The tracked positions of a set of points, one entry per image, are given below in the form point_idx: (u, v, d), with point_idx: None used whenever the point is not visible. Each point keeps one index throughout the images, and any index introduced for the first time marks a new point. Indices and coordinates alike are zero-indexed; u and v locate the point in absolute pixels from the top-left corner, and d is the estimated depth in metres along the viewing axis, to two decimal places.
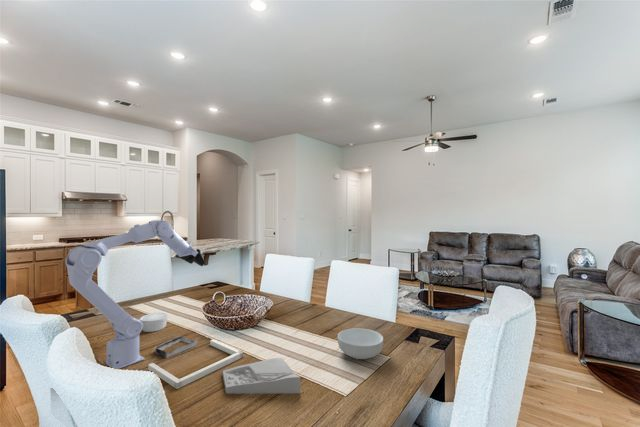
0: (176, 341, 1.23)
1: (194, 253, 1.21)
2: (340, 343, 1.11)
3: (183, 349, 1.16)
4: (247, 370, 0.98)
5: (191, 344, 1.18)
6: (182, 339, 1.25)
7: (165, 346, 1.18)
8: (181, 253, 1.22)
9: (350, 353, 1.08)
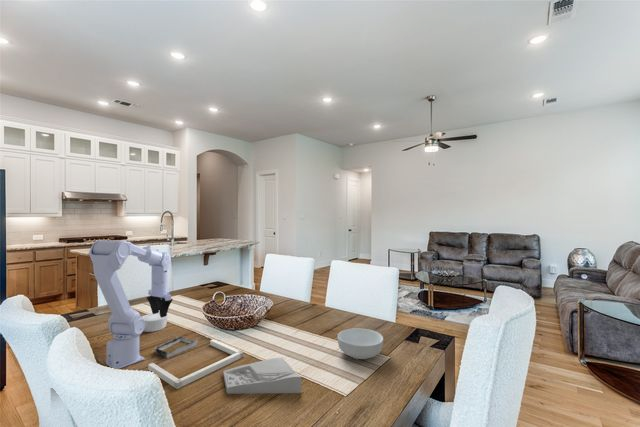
0: (176, 341, 1.22)
1: (168, 297, 1.20)
2: (340, 343, 1.11)
3: (183, 349, 1.16)
4: (248, 370, 0.98)
5: (191, 344, 1.18)
6: (182, 339, 1.25)
7: (165, 346, 1.18)
8: (156, 292, 1.21)
9: (350, 353, 1.08)
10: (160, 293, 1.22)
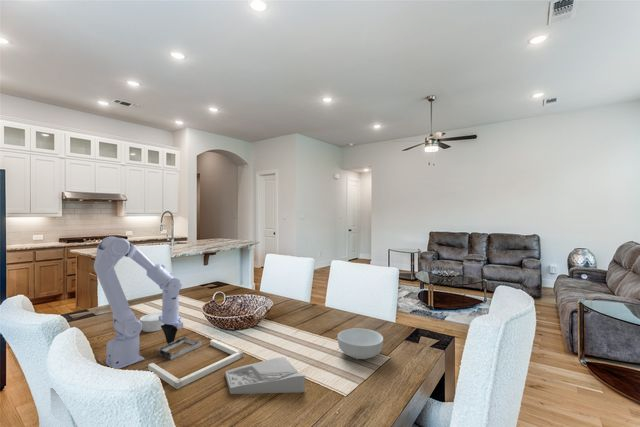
0: (179, 342, 1.21)
1: (179, 325, 1.15)
2: (340, 343, 1.11)
3: (187, 350, 1.15)
4: (250, 370, 0.98)
5: (195, 345, 1.17)
6: (185, 340, 1.24)
7: (169, 347, 1.17)
8: (167, 320, 1.17)
9: (350, 353, 1.08)
10: (171, 320, 1.17)
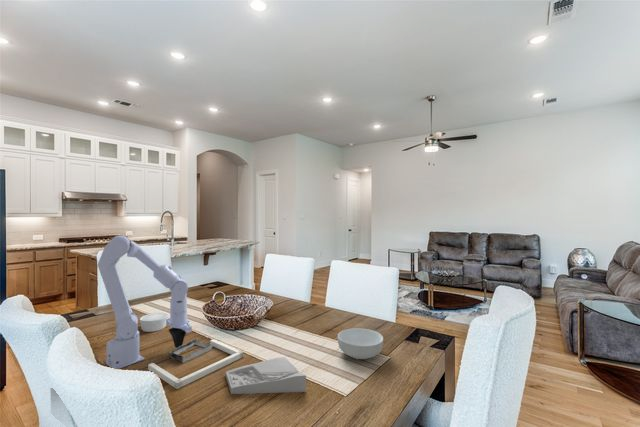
0: (190, 345, 1.19)
1: (188, 329, 1.11)
2: (340, 343, 1.11)
3: (199, 353, 1.12)
4: (251, 370, 0.98)
5: (206, 348, 1.15)
6: (196, 343, 1.21)
7: (180, 350, 1.15)
8: (175, 323, 1.13)
9: (350, 353, 1.08)
10: (180, 324, 1.14)
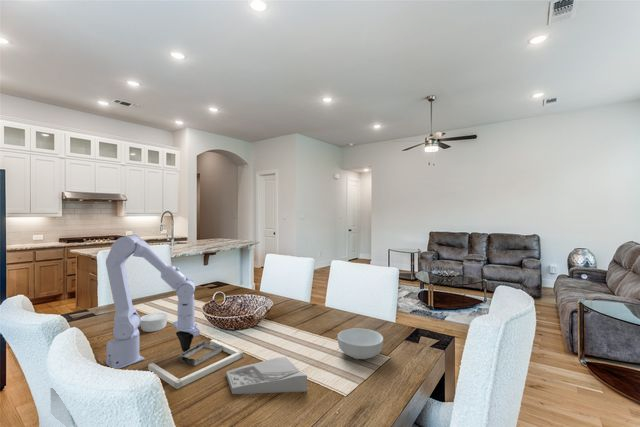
0: (199, 348, 1.17)
1: (196, 333, 1.08)
2: (340, 343, 1.11)
3: (210, 356, 1.11)
4: (252, 370, 0.98)
5: (217, 351, 1.14)
6: (205, 345, 1.19)
7: (189, 353, 1.12)
8: (183, 327, 1.10)
9: (350, 353, 1.08)
10: (187, 327, 1.11)
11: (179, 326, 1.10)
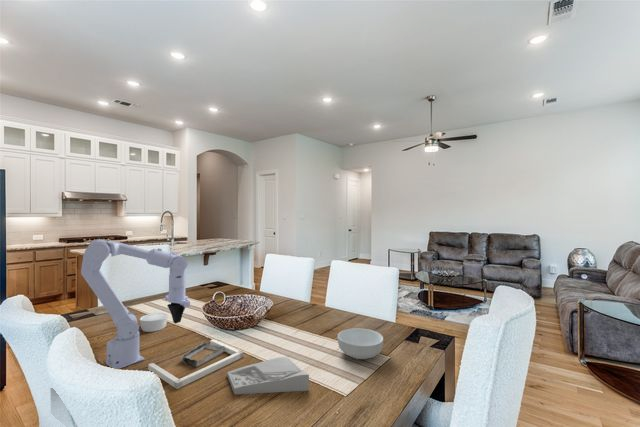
0: (201, 348, 1.16)
1: (186, 304, 1.12)
2: (340, 343, 1.11)
3: (212, 357, 1.10)
4: (253, 370, 0.98)
5: (219, 351, 1.13)
6: (206, 346, 1.19)
7: (191, 354, 1.12)
8: (174, 298, 1.14)
9: (350, 353, 1.08)
10: (178, 299, 1.14)
11: (170, 298, 1.14)
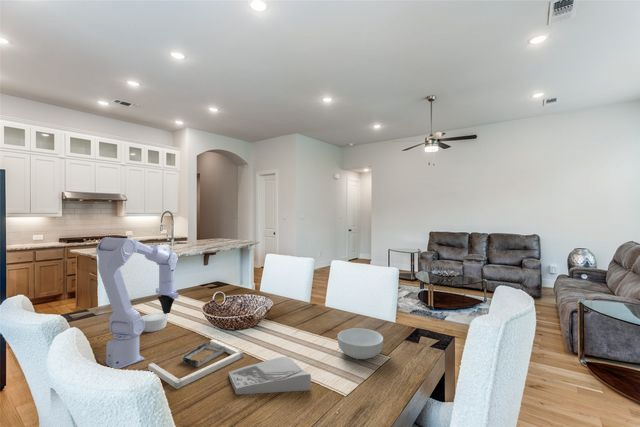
0: (201, 349, 1.16)
1: (175, 296, 1.22)
2: (340, 343, 1.11)
3: (212, 357, 1.10)
4: (254, 370, 0.97)
5: (219, 352, 1.13)
6: (206, 346, 1.18)
7: (191, 355, 1.11)
8: (164, 291, 1.24)
9: (350, 353, 1.08)
10: (167, 291, 1.24)
11: (160, 290, 1.24)
